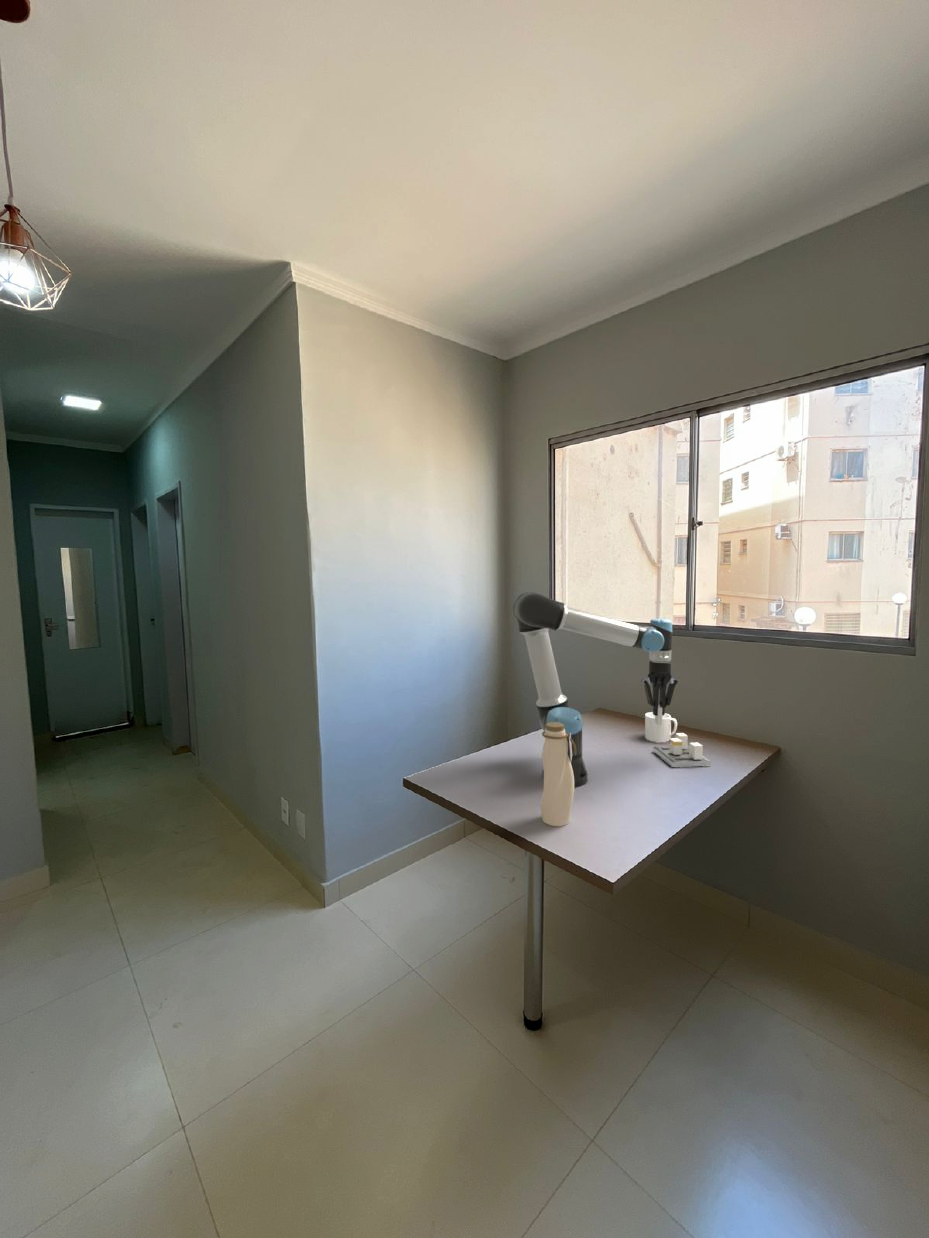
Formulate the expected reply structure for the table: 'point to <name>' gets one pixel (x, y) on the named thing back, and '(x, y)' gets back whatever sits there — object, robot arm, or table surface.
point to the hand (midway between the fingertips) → (658, 723)
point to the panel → (679, 758)
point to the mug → (659, 728)
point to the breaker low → (696, 751)
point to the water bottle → (557, 775)
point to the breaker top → (683, 739)
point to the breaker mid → (675, 746)
